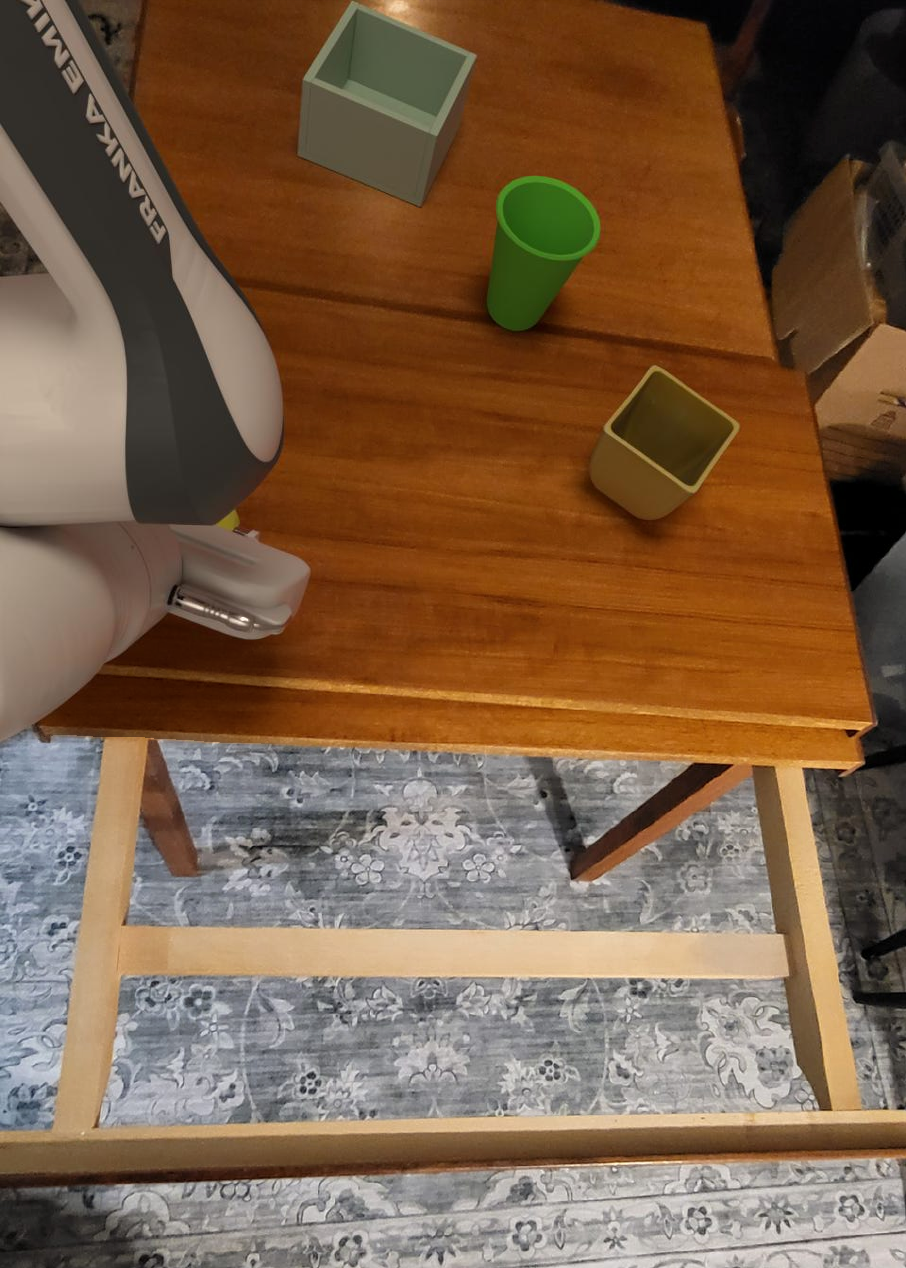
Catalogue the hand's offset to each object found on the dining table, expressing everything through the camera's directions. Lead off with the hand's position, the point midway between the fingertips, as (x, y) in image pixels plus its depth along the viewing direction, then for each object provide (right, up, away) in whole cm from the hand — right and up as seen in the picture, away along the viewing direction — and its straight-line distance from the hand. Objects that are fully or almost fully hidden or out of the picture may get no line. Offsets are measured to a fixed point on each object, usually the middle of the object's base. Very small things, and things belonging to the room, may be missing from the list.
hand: (180, 513), depth 60 cm
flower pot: (+34, +5, +19) cm, 39 cm away
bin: (+11, +41, +29) cm, 51 cm away
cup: (+24, +22, +24) cm, 40 cm away
